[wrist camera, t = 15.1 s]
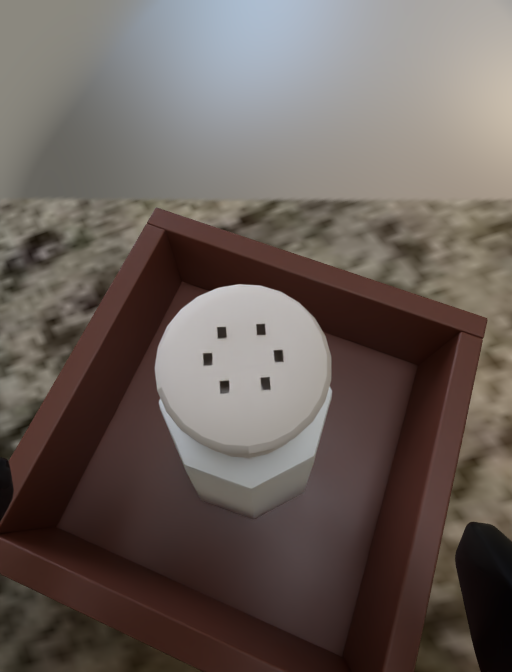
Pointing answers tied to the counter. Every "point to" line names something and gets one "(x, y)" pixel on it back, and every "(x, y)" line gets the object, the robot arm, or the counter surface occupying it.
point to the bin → (226, 526)
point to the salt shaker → (245, 395)
